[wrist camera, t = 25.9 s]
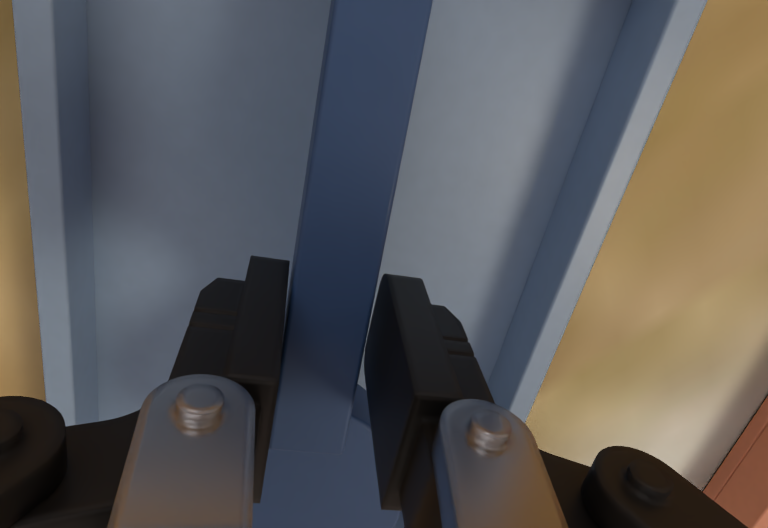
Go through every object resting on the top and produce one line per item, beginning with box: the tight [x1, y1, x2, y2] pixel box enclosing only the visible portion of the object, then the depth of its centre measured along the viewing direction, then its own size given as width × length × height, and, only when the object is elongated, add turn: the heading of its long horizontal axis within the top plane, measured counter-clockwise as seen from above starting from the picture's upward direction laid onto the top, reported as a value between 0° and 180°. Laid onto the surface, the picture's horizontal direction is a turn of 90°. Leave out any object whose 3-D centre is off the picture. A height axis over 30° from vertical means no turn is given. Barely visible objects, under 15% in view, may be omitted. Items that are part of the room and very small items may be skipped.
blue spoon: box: [252, 0, 433, 528], centre depth 11 cm, size 13×5×3 cm, turn 168°
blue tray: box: [12, 0, 707, 528], centre depth 13 cm, size 17×11×2 cm, turn 168°
